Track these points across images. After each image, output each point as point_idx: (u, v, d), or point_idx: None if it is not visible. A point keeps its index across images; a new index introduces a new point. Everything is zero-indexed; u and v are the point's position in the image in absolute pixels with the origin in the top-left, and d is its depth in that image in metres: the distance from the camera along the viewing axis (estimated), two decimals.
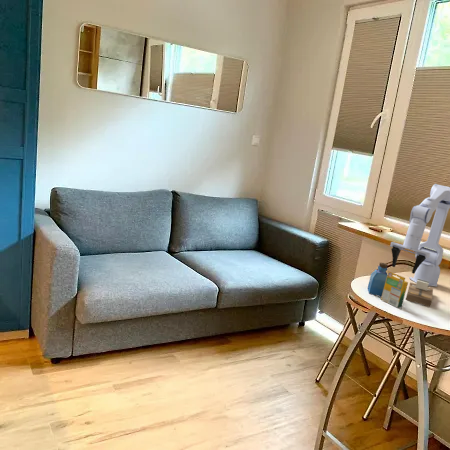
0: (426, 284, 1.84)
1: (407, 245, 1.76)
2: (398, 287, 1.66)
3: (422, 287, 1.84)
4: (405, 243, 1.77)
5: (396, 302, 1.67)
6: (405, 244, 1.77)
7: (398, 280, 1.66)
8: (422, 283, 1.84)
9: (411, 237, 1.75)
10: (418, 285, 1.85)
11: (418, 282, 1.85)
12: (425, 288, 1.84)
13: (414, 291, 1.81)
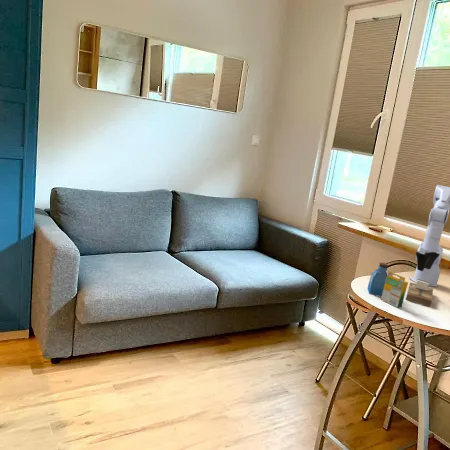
0: (426, 284, 1.84)
1: (436, 249, 1.83)
2: (398, 287, 1.66)
3: (422, 287, 1.84)
4: (434, 247, 1.82)
5: (396, 302, 1.67)
6: (434, 248, 1.82)
7: (398, 280, 1.66)
8: (422, 283, 1.84)
9: (439, 240, 1.82)
10: (418, 285, 1.85)
11: (418, 282, 1.85)
12: (425, 288, 1.84)
13: (414, 291, 1.81)
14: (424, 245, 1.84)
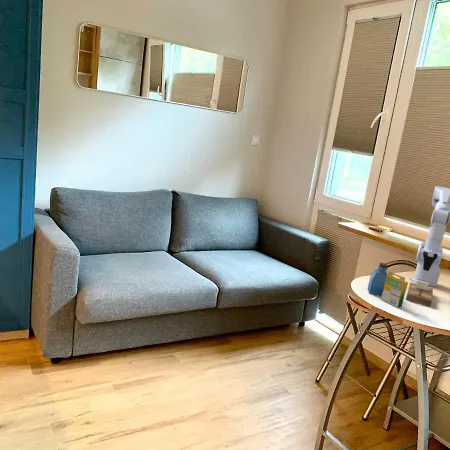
0: (426, 284, 1.84)
1: (439, 249, 1.86)
2: (398, 287, 1.66)
3: (422, 287, 1.84)
4: (438, 248, 1.85)
5: (396, 302, 1.67)
6: (438, 249, 1.85)
7: (398, 280, 1.66)
8: (422, 283, 1.84)
9: (441, 241, 1.85)
10: (418, 285, 1.85)
11: (418, 282, 1.85)
12: (425, 288, 1.84)
13: (414, 291, 1.81)
14: (428, 247, 1.86)
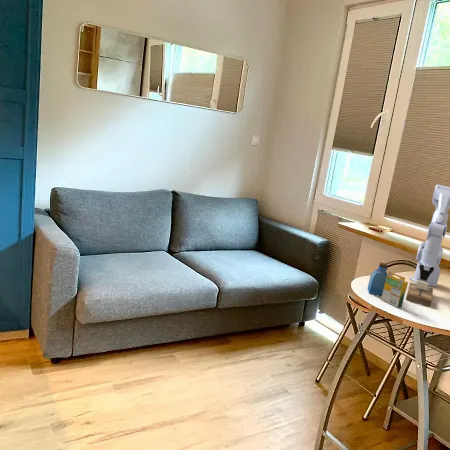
0: (426, 284, 1.84)
1: (435, 263, 1.87)
2: (398, 287, 1.66)
3: (422, 287, 1.84)
4: (434, 262, 1.86)
5: (396, 302, 1.67)
6: (434, 263, 1.86)
7: (398, 280, 1.66)
8: (422, 283, 1.84)
9: (437, 255, 1.87)
10: (418, 285, 1.85)
11: (418, 282, 1.85)
12: (425, 288, 1.84)
13: (414, 291, 1.81)
14: (424, 260, 1.87)
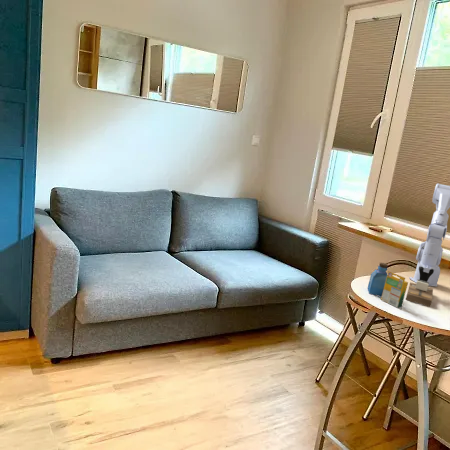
0: (426, 285, 1.83)
1: (435, 265, 1.84)
2: (398, 287, 1.66)
3: (422, 288, 1.83)
4: (434, 264, 1.83)
5: (396, 302, 1.67)
6: (434, 264, 1.83)
7: (398, 280, 1.66)
8: (422, 284, 1.83)
9: (437, 256, 1.83)
10: (418, 286, 1.84)
11: (418, 283, 1.84)
12: (425, 289, 1.83)
13: (414, 291, 1.81)
14: (424, 262, 1.84)
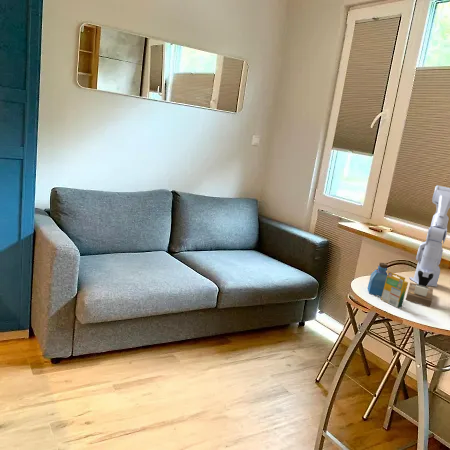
0: (425, 290, 1.76)
1: (435, 269, 1.77)
2: (398, 287, 1.66)
3: (421, 293, 1.77)
4: (433, 268, 1.76)
5: (396, 302, 1.67)
6: (434, 269, 1.76)
7: (398, 280, 1.66)
8: (421, 289, 1.76)
9: (437, 260, 1.76)
10: (417, 291, 1.77)
11: (417, 288, 1.77)
12: (424, 294, 1.76)
13: None
14: (423, 266, 1.77)
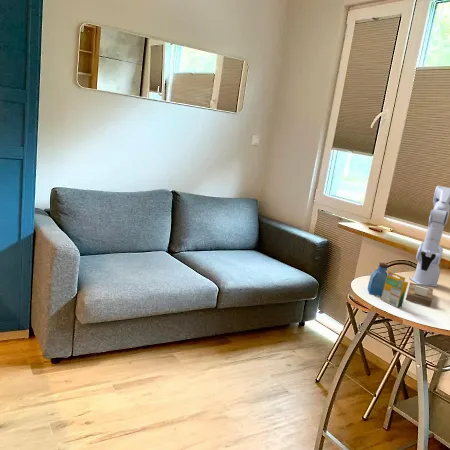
0: (425, 290, 1.76)
1: (437, 249, 1.85)
2: (398, 287, 1.66)
3: (421, 293, 1.77)
4: (436, 248, 1.84)
5: (396, 302, 1.67)
6: (436, 249, 1.85)
7: (398, 280, 1.66)
8: (421, 289, 1.76)
9: (439, 241, 1.85)
10: (417, 291, 1.77)
11: (417, 288, 1.77)
12: (424, 294, 1.76)
13: None
14: (426, 247, 1.85)
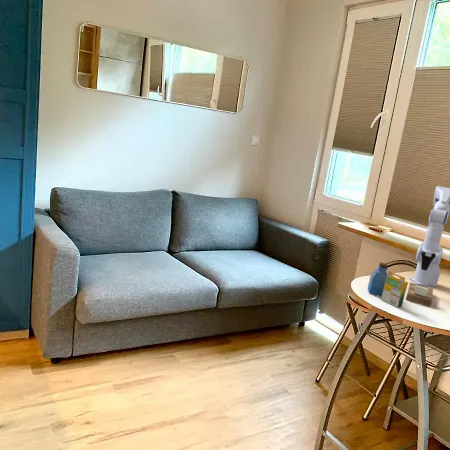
0: (425, 290, 1.76)
1: (437, 249, 1.86)
2: (398, 287, 1.66)
3: (421, 293, 1.77)
4: (436, 248, 1.85)
5: (396, 302, 1.67)
6: (436, 249, 1.85)
7: (398, 280, 1.66)
8: (421, 289, 1.76)
9: (439, 241, 1.85)
10: (417, 291, 1.77)
11: (417, 288, 1.77)
12: (424, 294, 1.76)
13: None
14: (426, 246, 1.86)
